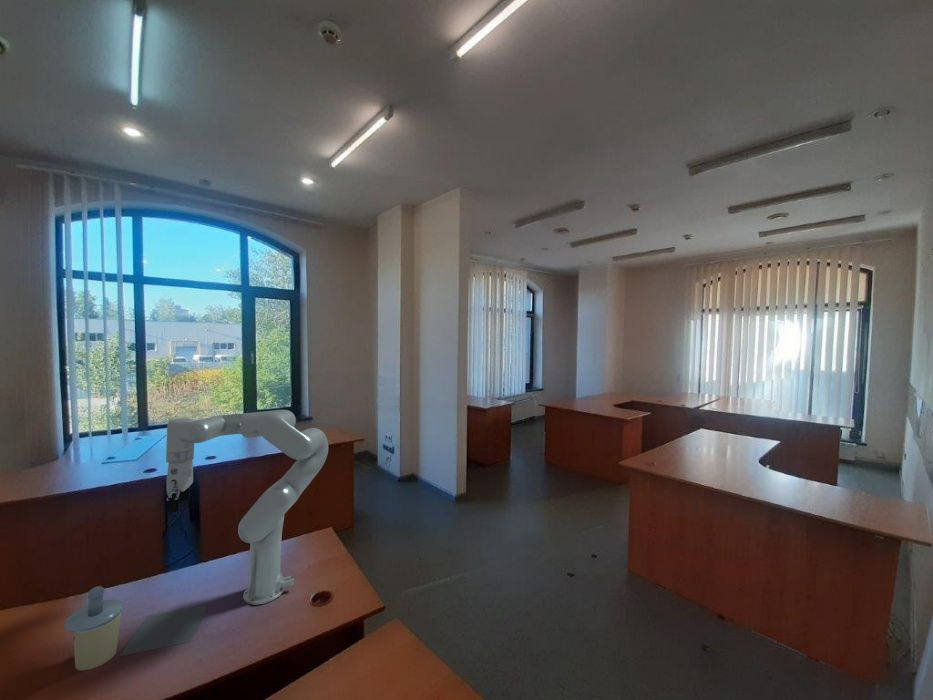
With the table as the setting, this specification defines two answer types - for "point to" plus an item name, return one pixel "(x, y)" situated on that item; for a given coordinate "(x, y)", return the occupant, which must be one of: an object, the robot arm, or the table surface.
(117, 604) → the lid
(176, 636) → the mat
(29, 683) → the table surface
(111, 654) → the coffee cup
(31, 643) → the table surface
